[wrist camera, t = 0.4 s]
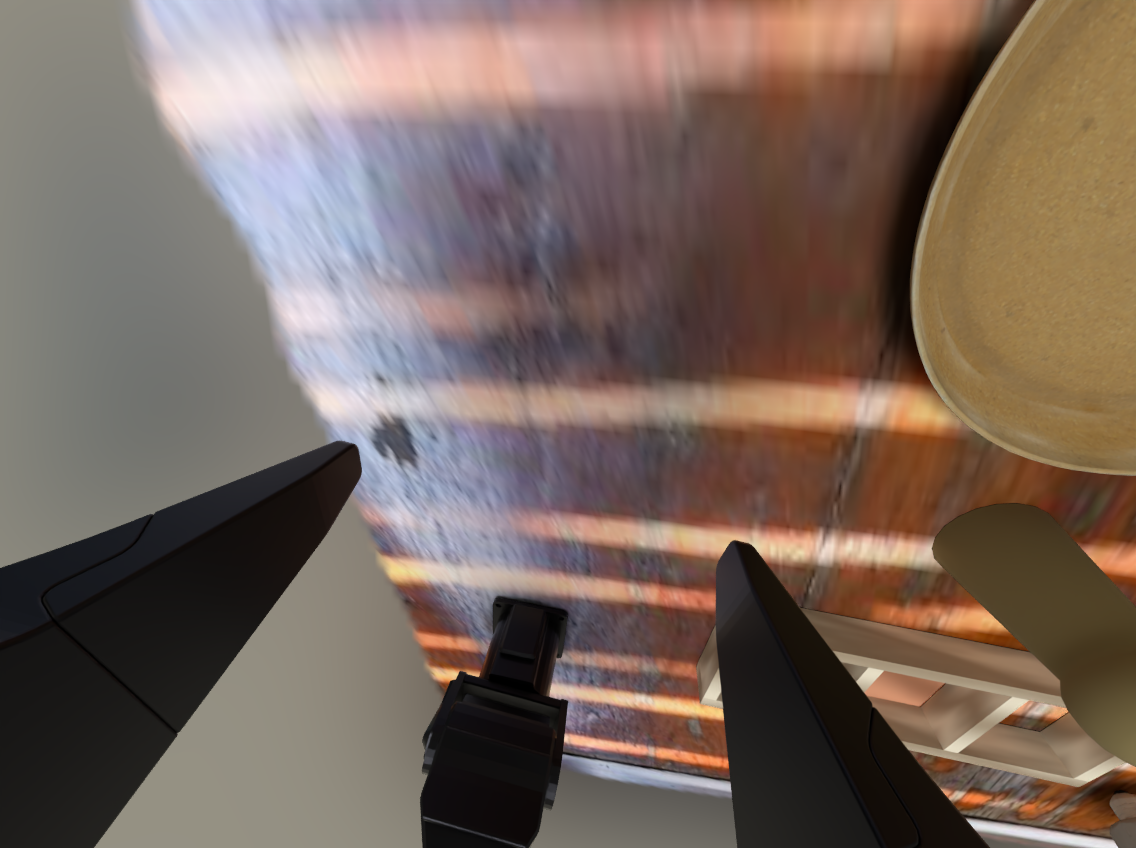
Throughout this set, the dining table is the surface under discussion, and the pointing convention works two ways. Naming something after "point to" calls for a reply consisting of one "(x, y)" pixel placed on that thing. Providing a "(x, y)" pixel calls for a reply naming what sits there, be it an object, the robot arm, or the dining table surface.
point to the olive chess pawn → (1053, 611)
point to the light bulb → (1124, 819)
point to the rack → (950, 698)
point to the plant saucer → (1040, 244)
